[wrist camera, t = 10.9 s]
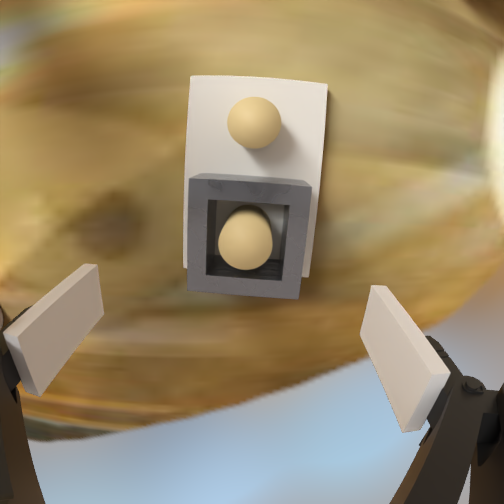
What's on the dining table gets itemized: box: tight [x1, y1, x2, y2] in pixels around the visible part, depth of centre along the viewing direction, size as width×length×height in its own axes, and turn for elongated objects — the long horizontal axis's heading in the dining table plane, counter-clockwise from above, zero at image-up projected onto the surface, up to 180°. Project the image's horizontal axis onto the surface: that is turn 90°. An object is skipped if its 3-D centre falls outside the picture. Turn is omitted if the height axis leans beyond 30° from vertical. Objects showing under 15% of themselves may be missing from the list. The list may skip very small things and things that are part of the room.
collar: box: [187, 173, 312, 299], centre depth 27 cm, size 9×9×5 cm
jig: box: [183, 76, 328, 277], centre depth 25 cm, size 18×12×7 cm, turn 176°
